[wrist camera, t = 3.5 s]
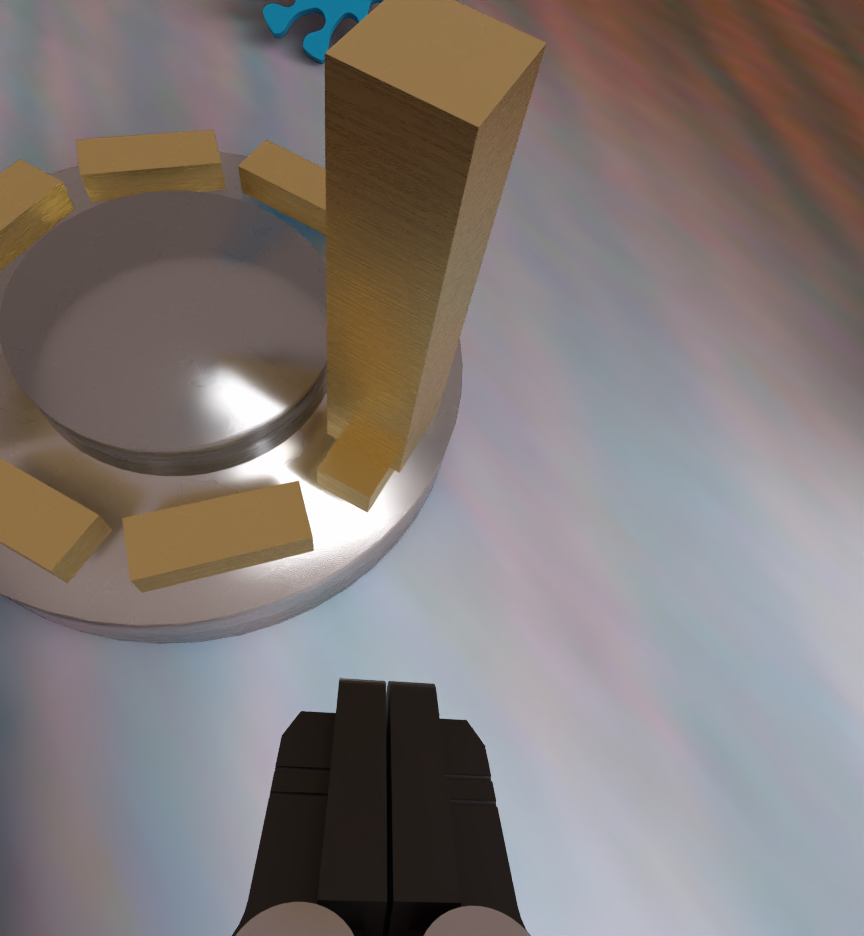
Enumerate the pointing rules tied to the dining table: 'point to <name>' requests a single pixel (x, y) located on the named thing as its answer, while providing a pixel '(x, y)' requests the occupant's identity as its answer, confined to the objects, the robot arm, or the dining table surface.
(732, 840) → the dining table surface
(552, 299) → the dining table surface
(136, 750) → the dining table surface
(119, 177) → the peg on ring base
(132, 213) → the grey round piece
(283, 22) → the blue lobed toy
